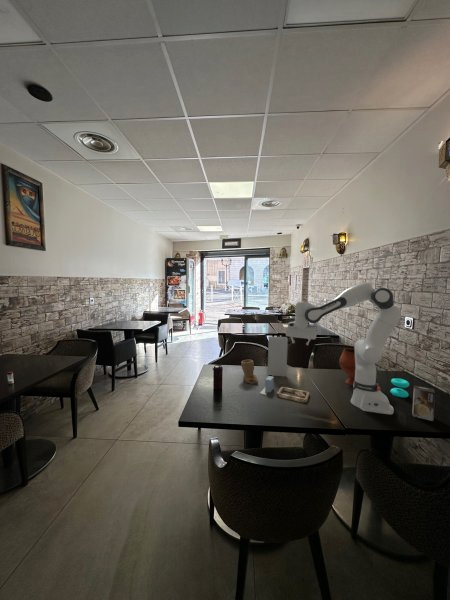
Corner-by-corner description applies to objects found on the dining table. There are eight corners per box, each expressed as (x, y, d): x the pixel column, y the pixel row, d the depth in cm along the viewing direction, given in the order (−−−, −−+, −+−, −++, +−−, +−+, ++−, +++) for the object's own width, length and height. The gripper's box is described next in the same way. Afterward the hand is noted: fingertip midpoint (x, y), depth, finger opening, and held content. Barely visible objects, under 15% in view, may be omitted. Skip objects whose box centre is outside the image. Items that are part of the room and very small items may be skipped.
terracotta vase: (371, 390, 176) (373, 355, 174) (342, 387, 179) (344, 353, 177) (361, 379, 194) (363, 347, 193) (335, 377, 198) (337, 346, 196)
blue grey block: (273, 389, 171) (273, 376, 170) (270, 393, 165) (270, 380, 164) (268, 388, 173) (268, 375, 172) (265, 392, 166) (265, 379, 166)
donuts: (410, 380, 168) (407, 384, 161) (409, 395, 169) (406, 400, 162) (393, 376, 175) (389, 380, 168) (392, 390, 176) (388, 394, 169)
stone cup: (240, 376, 195) (240, 357, 194) (255, 376, 196) (256, 357, 195) (241, 384, 180) (242, 363, 179) (258, 384, 181) (259, 364, 179)
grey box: (285, 373, 203) (286, 337, 201) (286, 376, 198) (287, 338, 195) (267, 372, 204) (268, 336, 202) (267, 375, 199) (269, 337, 197)
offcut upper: (301, 394, 163) (301, 391, 162) (305, 399, 157) (305, 395, 156) (294, 394, 162) (294, 391, 162) (298, 399, 156) (298, 396, 156)
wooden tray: (309, 397, 162) (309, 392, 162) (306, 405, 151) (306, 399, 151) (281, 391, 170) (281, 386, 170) (276, 398, 159) (276, 393, 159)
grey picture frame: (432, 416, 142) (434, 388, 141) (433, 421, 136) (435, 393, 135) (411, 411, 147) (413, 384, 146) (412, 416, 142) (414, 388, 140)
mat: (278, 390, 172) (278, 389, 172) (273, 397, 161) (273, 396, 161) (265, 387, 176) (265, 386, 176) (259, 393, 165) (259, 393, 165)
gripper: (317, 325, 172) (316, 345, 173) (287, 322, 181) (286, 341, 182) (316, 326, 166) (315, 347, 167) (285, 323, 175) (284, 343, 176)
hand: (300, 344), depth 175 cm, fingers open, 8 cm apart
